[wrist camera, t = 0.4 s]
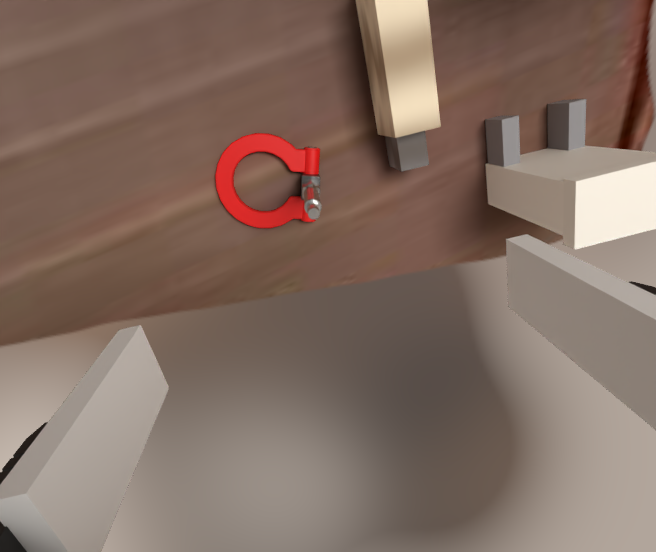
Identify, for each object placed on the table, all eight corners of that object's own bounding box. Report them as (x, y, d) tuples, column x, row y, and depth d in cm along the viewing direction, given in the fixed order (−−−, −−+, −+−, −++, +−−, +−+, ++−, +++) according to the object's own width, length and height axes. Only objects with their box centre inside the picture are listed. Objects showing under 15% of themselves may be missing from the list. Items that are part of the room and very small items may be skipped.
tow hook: (219, 222, 38) (315, 228, 39) (180, 270, 26) (321, 276, 27) (216, 129, 35) (321, 137, 36) (171, 133, 23) (331, 145, 24)
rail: (354, -8, 32) (369, -34, 26) (397, -18, 32) (422, -47, 26) (383, 167, 37) (401, 176, 32) (420, 158, 37) (444, 165, 32)
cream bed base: (478, 121, 36) (577, 123, 24) (569, 98, 37) (713, 89, 24) (484, 208, 40) (574, 249, 28) (568, 187, 40) (694, 218, 28)
